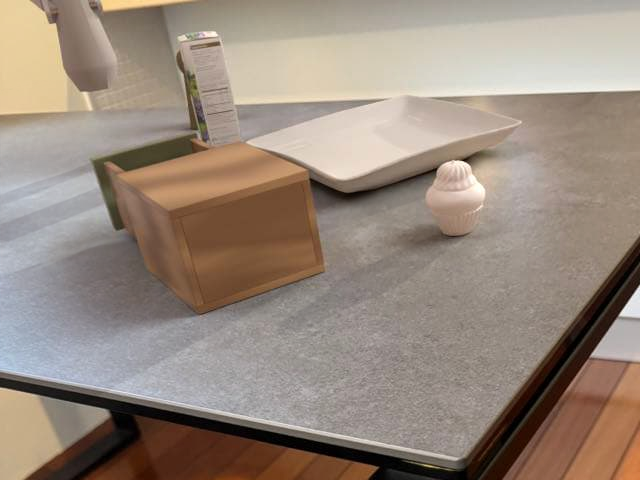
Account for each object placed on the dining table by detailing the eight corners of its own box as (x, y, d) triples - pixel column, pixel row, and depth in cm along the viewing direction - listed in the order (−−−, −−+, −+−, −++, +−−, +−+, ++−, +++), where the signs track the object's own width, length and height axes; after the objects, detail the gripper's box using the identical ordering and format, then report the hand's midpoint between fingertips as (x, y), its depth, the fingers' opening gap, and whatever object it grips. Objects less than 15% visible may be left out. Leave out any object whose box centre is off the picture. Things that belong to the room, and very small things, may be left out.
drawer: (101, 218, 98) (78, 150, 93) (196, 191, 102) (178, 124, 97) (153, 262, 85) (128, 185, 80) (259, 228, 89) (242, 153, 84)
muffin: (499, 225, 84) (496, 154, 80) (460, 245, 81) (455, 173, 77) (455, 216, 88) (450, 147, 83) (416, 234, 85) (409, 164, 80)
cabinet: (146, 268, 86) (115, 174, 80) (261, 232, 91) (240, 140, 84) (199, 315, 75) (168, 210, 69) (325, 271, 80) (307, 169, 74)
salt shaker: (97, 94, 86) (49, -55, 78) (60, 94, 89) (10, -51, 81) (134, 80, 90) (93, -63, 82) (98, 81, 93) (54, -59, 84)
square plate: (408, 119, 121) (406, 90, 118) (526, 151, 103) (526, 118, 100) (246, 166, 111) (239, 136, 109) (344, 211, 93) (338, 176, 90)
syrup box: (201, 146, 122) (173, 36, 113) (240, 139, 123) (215, 28, 114) (206, 156, 118) (177, 41, 108) (246, 148, 119) (220, 33, 109)
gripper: (134, -90, 91) (175, 20, 90) (-56, -62, 86) (-15, 54, 85) (126, -144, 85) (170, -26, 84) (-79, -117, 80) (-34, 8, 79)
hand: (75, 15), depth 85 cm, fingers closed on salt shaker, 3 cm apart
